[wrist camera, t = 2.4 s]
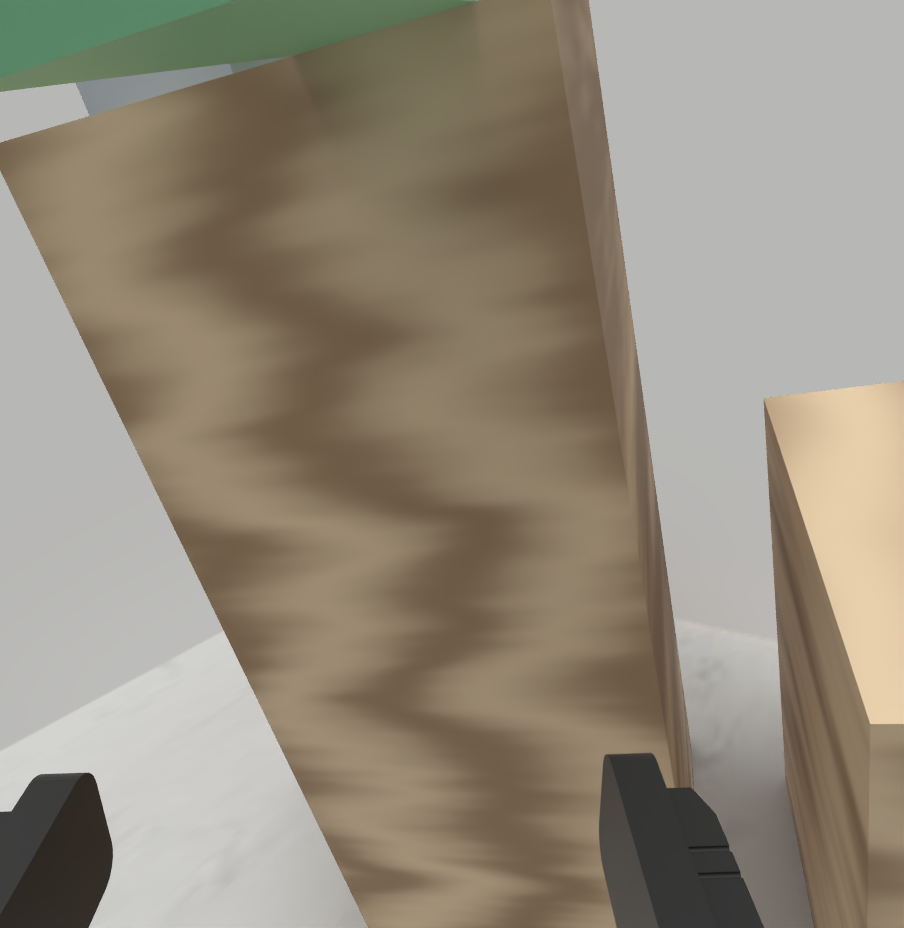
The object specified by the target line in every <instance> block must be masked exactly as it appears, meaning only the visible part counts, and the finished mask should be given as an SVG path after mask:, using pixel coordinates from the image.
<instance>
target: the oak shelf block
mask: <svg viewBox="0 0 904 928" xmlns="http://www.w3.org/2000/svg"><path fill="white" fill-rule="evenodd" d="M0 171H1V173H2V175H3V177H4V179H5V181H6V183H7V185H8V187H9V189H10V192H11V194H12V196H13V198H14V200H15V202H16V204H17V206H18V208H19V210H20V212H21V214H22V216H23V218H24V220H25V222H26V224H27V227H28V229H29V231H30V233H31V235H32V237H33V239H34V241H35V243H36V245H37V247H38V249H39V251H40V253H41V255H42V257H43V259H44V261H45V264H46V266H47V268H48V270H49V272H50V274H51V276H52V278H53V280H54V282H55V284H56V286H57V288H58V290H59V292H60V294H61V296H62V298H63V301H64V303H65V305H66V307H67V309H68V311H69V313H70V315H71V317H72V319H73V321H74V323H75V325H76V327H77V329H78V331H79V333H80V336H81V337H82V340H83V342H84V344H85V346H86V348H87V350H88V352H89V354H90V356H91V358H92V360H93V362H94V364H95V366H96V368H97V371H98V373H99V375H100V377H101V379H102V381H103V383H104V385H105V387H106V389H107V391H108V393H109V395H110V397H111V399H112V401H113V403H114V405H115V407H116V409H117V412H118V414H119V416H120V418H121V420H122V422H123V424H124V426H125V428H126V430H127V432H128V434H129V436H130V438H131V440H132V442H133V445H134V447H135V449H136V451H137V453H138V455H139V457H140V459H141V461H142V463H143V465H144V467H145V469H146V471H147V473H148V475H149V477H150V479H151V482H152V484H153V486H154V488H155V490H156V492H157V494H158V496H159V498H160V500H161V502H162V504H163V506H164V508H165V510H166V512H167V514H168V516H169V519H170V521H171V523H172V525H173V527H174V529H175V531H176V533H177V535H178V537H179V539H180V541H181V543H182V545H183V547H184V549H185V552H186V553H187V556H188V558H189V560H190V562H191V564H192V566H193V568H194V570H195V572H196V574H197V576H198V578H199V580H200V582H201V584H202V586H203V589H204V591H205V593H206V594H207V596H208V599H209V601H210V603H211V605H212V607H213V609H214V611H215V613H216V615H217V617H218V619H219V621H220V623H221V626H222V628H223V630H224V632H225V634H226V636H227V638H228V640H229V642H230V644H231V646H232V648H233V650H234V652H235V654H236V656H237V658H238V661H239V663H240V665H241V667H242V669H243V671H244V673H245V675H246V677H247V679H248V681H249V683H250V685H251V687H252V689H253V691H254V693H255V695H256V698H257V700H258V702H259V704H260V706H261V708H262V710H263V712H264V714H265V716H266V718H267V720H268V722H269V724H270V726H271V728H272V730H273V733H274V735H275V737H276V739H277V741H278V743H279V745H280V747H281V749H282V751H283V753H284V755H285V757H286V759H287V761H288V763H289V765H290V767H291V770H292V772H293V774H294V776H295V778H296V780H297V782H298V784H299V786H300V788H301V790H302V792H303V794H304V796H305V798H306V800H307V802H308V805H309V807H310V809H311V811H312V813H313V815H314V817H315V819H316V821H317V823H318V825H319V827H320V829H321V831H322V833H323V835H324V837H325V839H326V842H327V844H328V846H329V848H330V850H331V852H332V854H333V856H334V858H335V860H336V862H337V864H338V866H339V868H340V870H341V872H342V874H343V876H344V879H345V881H346V883H347V885H348V887H349V889H350V891H351V893H352V895H353V897H354V899H355V901H356V903H357V905H358V907H359V909H360V911H361V914H362V916H363V918H364V920H365V922H366V924H367V926H368V928H617V927H616V922H615V918H614V914H613V910H612V905H611V901H610V897H609V892H608V888H607V884H606V880H605V875H604V871H603V866H602V860H601V853H600V843H599V816H600V801H601V786H602V771H603V760H604V756H605V755H606V754H630V753H652V754H653V755H654V756H655V758H656V760H657V762H658V765H659V768H660V771H661V773H662V776H663V779H664V782H665V784H666V787H667V788H686V787H691V788H692V789H693V790H694V785H693V771H692V758H691V744H690V736H689V729H688V721H687V714H686V707H685V700H684V692H683V685H682V678H681V670H680V663H679V656H678V649H677V641H676V634H675V627H674V619H673V612H672V605H671V598H670V590H669V583H668V576H667V568H666V562H665V555H664V546H663V539H662V532H661V525H660V517H659V510H658V503H657V495H656V488H655V481H654V474H653V466H652V459H651V452H650V445H649V437H648V430H647V423H646V415H645V409H644V401H643V393H642V386H641V379H640V372H639V364H638V357H637V350H636V342H635V335H634V328H633V320H632V313H631V306H630V298H629V291H628V284H627V277H626V269H625V262H624V256H623V247H622V240H621V233H620V226H619V218H618V211H617V204H616V196H615V189H614V182H613V175H612V168H611V160H610V153H609V145H608V138H607V131H606V124H605V117H604V109H603V102H602V95H601V87H600V80H599V72H598V65H597V59H596V50H595V43H594V36H593V29H592V21H591V14H590V7H589V0H479V1H476V2H472V3H469V4H465V5H462V6H459V7H455V8H452V9H449V10H445V11H442V12H439V13H435V14H432V15H428V16H425V17H422V18H418V19H415V20H412V21H408V22H405V23H402V24H398V25H395V26H391V27H388V28H385V29H381V30H378V31H375V32H371V33H368V34H365V35H361V36H358V37H354V38H351V39H348V40H344V41H341V42H338V43H334V44H331V45H327V46H324V47H321V48H317V49H314V50H311V51H307V52H304V53H301V54H297V55H294V56H290V57H287V58H284V59H280V60H277V61H274V62H270V63H267V64H263V65H260V66H257V67H253V68H250V69H247V70H243V71H240V72H237V73H233V74H230V75H226V76H223V77H220V78H216V79H213V80H210V81H206V82H203V83H199V84H196V85H193V86H189V87H186V88H183V89H179V90H176V91H173V92H169V93H166V94H162V95H159V96H156V97H152V98H149V99H146V100H142V101H139V102H136V103H132V104H129V105H125V106H122V107H119V108H115V109H112V110H109V111H105V112H102V113H98V114H95V115H92V116H88V117H85V118H82V119H78V120H75V121H72V122H69V123H65V124H62V125H58V126H55V127H51V128H48V129H45V130H41V131H38V132H35V133H31V134H28V135H25V136H21V137H18V138H14V139H11V140H8V141H4V142H1V143H0Z"/></svg>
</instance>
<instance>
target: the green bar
mask: <svg viewBox="0 0 904 928" xmlns="http://www.w3.org/2000/svg"><path fill="white" fill-rule="evenodd" d="M476 1H479V0H0V92H1V91H9V90H17V89H25V88H33V87H42V86H49V85H58V84H67V83H75V82H83V81H91V80H99V79H107V78H116V77H124V76H132V75H140V74H148V73H156V72H165V71H173V70H181V69H189V68H197V67H205V66H214V65H222V64H230V63H238V62H246V61H254V60H263V59H271V58H279V57H287V56H294V55H297V54H301V53H304V52H307V51H311V50H314V49H317V48H321V47H324V46H327V45H331V44H334V43H338V42H341V41H344V40H348V39H351V38H354V37H358V36H361V35H365V34H368V33H371V32H375V31H378V30H381V29H385V28H388V27H391V26H395V25H398V24H402V23H405V22H408V21H412V20H415V19H418V18H422V17H425V16H428V15H432V14H435V13H439V12H442V11H445V10H449V9H452V8H455V7H459V6H462V5H465V4H469V3H472V2H476Z"/></svg>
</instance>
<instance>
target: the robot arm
mask: <svg viewBox="0 0 904 928" xmlns="http://www.w3.org/2000/svg"><path fill="white" fill-rule="evenodd" d="M599 843H600V853H601V860H602V866H603V871H604V875H605V880H606V884H607V888H608V892H609V897H610V901H611V905H612V910H613V914H614V918H615V922H616V927H617V928H764V927H763V924H762V922H761V920H760V917H759V915H758V913H757V910H756V908H755V905H754V903H753V901H752V898H751V896H750V894H749V891H748V889H747V887H746V884H745V882H744V879H743V878H741V876H740V870H739V868H738V865H737V863H736V861H735V858H734V856H733V854H732V852H730V850H729V844H728V842H727V839H726V837H725V835H724V832H723V830H722V828H721V825H720V823H719V820H718V818H717V816H716V814H715V813H714V812H713V810H712V809H711V808H710V807H709V806H708V805H707V804H706V803H705V802H704V801H703V800H702V799H701V798H700V797H699V796H698V794H697V793H696V792H695V791H694V790H693V789H692V788H691V787H686V788H667V787H666V784H665V782H664V779H663V776H662V773H661V771H660V768H659V765H658V762H657V760H656V758H655V756H654V755H653V754H652V753H630V754H606V755H605V756H604V760H603V771H602V786H601V801H600V816H599ZM112 859H113V848H112V841H111V837H110V834H109V830H108V826H107V822H106V818H105V814H104V810H103V806H102V803H101V799H100V795H99V791H98V787H97V783H96V780H95V778H94V776H93V775H92V774H90V773H67V774H41V775H38V776H36V777H35V778H34V779H33V780H32V781H31V782H30V784H29V785H28V787H27V788H26V790H25V791H24V793H23V795H22V796H21V798H20V799H19V801H18V802H17V804H16V805H15V807H14V808H13V810H12V812H0V928H89V925H90V923H91V921H92V919H93V916H94V914H95V912H96V910H97V908H98V905H99V903H100V901H101V899H102V896H103V894H104V892H105V890H106V887H107V884H108V881H109V878H110V873H111V868H112Z"/></svg>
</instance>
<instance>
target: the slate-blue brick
mask: <svg viewBox="0 0 904 928" xmlns="http://www.w3.org/2000/svg"><path fill="white" fill-rule="evenodd" d="M287 57H290V56H287ZM287 57H279V58H271V59H263V60H254V61H246V62H238V63H230V64H222V65H214V66H205V67H197V68H189V69H181V70H173V71H165V72H156V73H148V74H140V75H132V76H124V77H116V78H107V79H99V80H91V81H83V82H76V85H77V87H78V89H79V92H80V94H81V96H82V99H83V101H84V103H85V106H86V108H87V111H88V113H89V115H90V116H92V115H95V114H98V113H102V112H105V111H109V110H112V109H115V108H119V107H122V106H125V105H129V104H132V103H136V102H139V101H142V100H146V99H149V98H152V97H156V96H159V95H162V94H166V93H169V92H173V91H176V90H179V89H183V88H186V87H189V86H193V85H196V84H199V83H203V82H206V81H210V80H213V79H216V78H220V77H223V76H226V75H230V74H233V73H237V72H240V71H243V70H247V69H250V68H253V67H257V66H260V65H263V64H267V63H270V62H274V61H277V60H280V59H284V58H287Z"/></svg>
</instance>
